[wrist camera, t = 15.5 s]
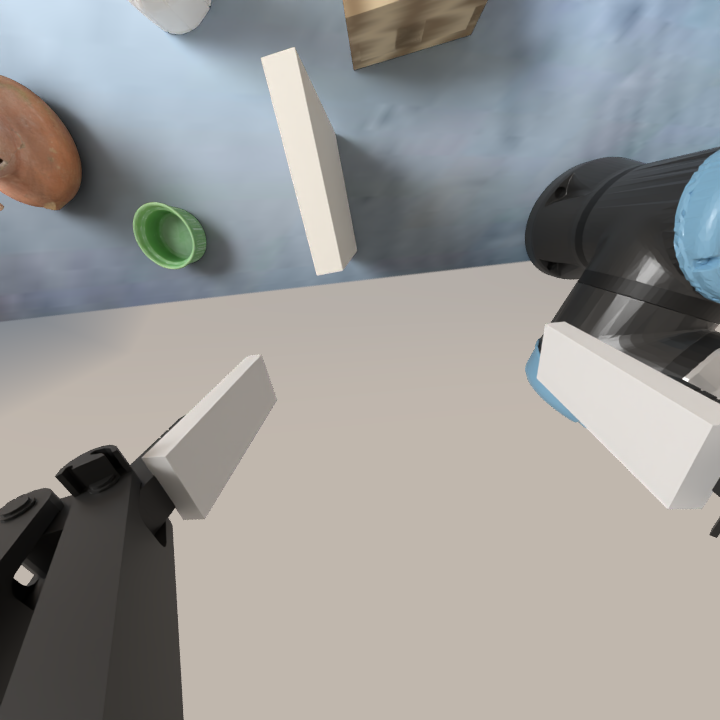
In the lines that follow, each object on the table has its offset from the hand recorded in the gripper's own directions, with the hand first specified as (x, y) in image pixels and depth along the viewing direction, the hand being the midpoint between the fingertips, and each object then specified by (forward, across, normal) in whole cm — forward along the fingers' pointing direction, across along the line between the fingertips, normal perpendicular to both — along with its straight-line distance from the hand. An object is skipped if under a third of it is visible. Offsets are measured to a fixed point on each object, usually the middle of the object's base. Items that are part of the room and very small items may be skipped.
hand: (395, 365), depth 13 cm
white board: (+34, +6, -10) cm, 36 cm away
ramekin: (+34, +32, -9) cm, 48 cm away
